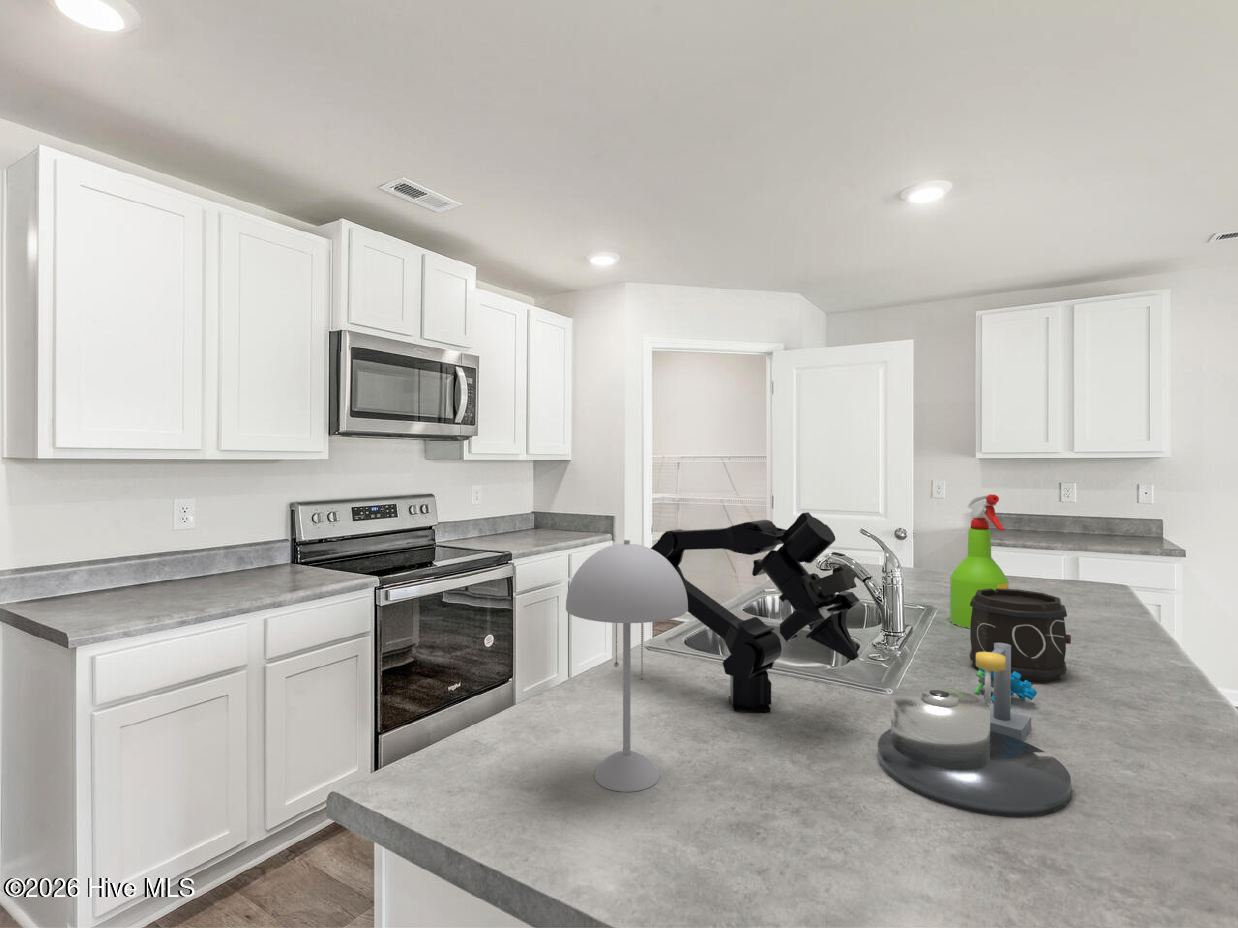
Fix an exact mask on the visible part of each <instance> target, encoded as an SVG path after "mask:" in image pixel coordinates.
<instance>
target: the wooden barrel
mask: <svg viewBox="0 0 1238 928" xmlns="http://www.w3.org/2000/svg"><path fill="white" fill-rule="evenodd" d="M970 606H971V607H972V615H971V624H970V629H969V631H970V635H969V637H970V646H971V647H970V648H971V649H970V652H969V659H970V661H972V662H973V666H974V668H975V669H977V670H979V668H978V667H977V666H976V653H977V652H992V651H994V643H1006V644H1009V645H1011V674H1012V673H1013V672H1014V671H1015V672H1017V673H1019V674H1021V677H1020V679H1019V680H1020V681H1022V682H1024V681H1025V680H1027V681H1029V682H1031V684H1043V685H1044V684H1048V683H1053V682H1059V680H1060V681H1061V678H1062V675H1065V674H1066V673H1067V665H1066V661H1065V659H1066V652H1067V651H1066V649H1067V644H1068V645H1071V644H1072V634H1067V632H1066V631H1067V630H1066V624H1065V623H1066V622H1065V618H1066V617H1067V616H1068V613H1067V609H1066V606H1065V605H1064V604H1062V601H1061V598H1060V597H1058V596H1054V595H1050V594H1049V593H1044V592H1039V591H1032V590H1031V591H1030V590H1025V589H1017V588H1008V589H996V590H995V591H994V590H993V589H982V590H977V592H976V595H975V596H973V598H972V600H971V603H970Z"/></svg>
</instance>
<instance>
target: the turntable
mask: <svg viewBox="0 0 1238 928" xmlns="http://www.w3.org/2000/svg"><path fill="white" fill-rule="evenodd" d="M877 743H878V746H877V747H878V749H877V751H878V752H877V753H878V754H877V757H878V762H879V764H880V766H881V768H882V769H883V771H884V772H885V773H886V774H887V775H888V777H891V778H892V779H893V780H894V781H895V782H897V783H898V784H900V785H901V786H903V787H905V788H906V789H908V790H910V791H912V792H914V793H915V794H918V795H920V796H922V797H924V796H925V797H924V798H927V797H928V798H927V799H929V798H930V799H929V800H932V799H933V800H932V801H934V800H935V802H937V801H938V802H937V803H940V802H941V803H940V804H943V803H944V804H943V805H946V804H947V806H949V805H950V807H953V808H956V807H957V809H960V808H961V810H964V809H965V811H969V810H970V811H969V812H972V813H973V812H974V813H978V814H985V815H991V816H1002V817H1017V818H1018V817H1021V818H1022V817H1023V818H1024V817H1037V816H1044V815H1048V814H1052V813H1055V812H1058V811H1060V810H1062V809H1063V808H1065V807H1066V806H1067V805H1068V804H1069V802H1070V800H1071V787H1072V786H1071V783H1072V782H1071V779H1072V778H1071V775H1070V773H1069V771H1068V769H1067V768H1066V767H1065V765H1063V764H1062V763H1061V762H1060V761H1059V760H1058V759H1056V758H1055V757H1054V756H1053V755H1052V754H1050V753H1049V752H1046V751H1044V750H1043V749H1041V748H1039V747H1038V746H1034V745H1033V744H1030V743H1028V742H1026V741H1024V740H1023V741H1021V740H1018V739H1016V738H1013V737H1010V736H1007V735H1004V734H1000V733H997V732H993V731H990V760H989V762H988V763H987V764H986V765H984V766H982V767H979V768H974V769H948V768H941V767H936V766H932V765H928V764H924V763H921V762H918V761H915V760H913V759H911V758H908V757H906V756H905V755H903V754H901V753H900V752H898V751H897V750H896V749H895V748H894V747H893V746H892V743H891V728H889V729H888V730H886V731H884V732H883V733H882V734H881V735H880V737H879V739H878V741H877Z"/></svg>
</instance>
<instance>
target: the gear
mask: <svg viewBox="0 0 1238 928" xmlns="http://www.w3.org/2000/svg"><path fill="white" fill-rule="evenodd" d="M975 675H976V677H978V682H979V684H978V685H977V687H976V688H975V690H974V694H977V695H979V694H980V692H981V690H982V689H983V688H984V687H985V670H984V669H981V668H979V669H978V671H977V673H976V674H975ZM1020 677H1021V674H1019V673H1017V672H1015V671H1014V672H1013V673H1012V674H1011V696H1013V695H1014V694H1015V695H1017V697H1018V698H1019V699H1021V700H1026V698H1027V699H1028V700H1030V701H1033V700H1034V698H1035V697H1036V696H1037V694H1038V692H1037V690H1036V689H1035V688H1033V683H1030V682H1029V681H1027V680H1025V681H1024V682H1022V681H1020V680H1019V679H1020ZM991 688H992V689H994V671H991ZM991 703H994V694H992V695H991Z"/></svg>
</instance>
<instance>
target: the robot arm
mask: <svg viewBox="0 0 1238 928" xmlns="http://www.w3.org/2000/svg"><path fill="white" fill-rule="evenodd" d="M835 541H836V536H835V533H834V532H833V530H832V529H831V527H830V526H828V524H825V523H824V522H823V521H821V520H819V519H818V518H817V517H815V516H813V515H811V513H810V512H809V511H807V512H802V513H800V515H799V516H797V518H796V520H795V521H794V522H793V523H792V524H791V525H790V526H789V527H788V528H786V529H785V528H781V527H777V526H776V524H774V522H773V521H772V520H768V519H761V520H753V521H747V522H741V523H738V524H735V525H731V526H730V525H729V526H728V527H725V528H723V527H722V528H706V529H686V530H685V529H671V530H667V531H665V532H664V533H662V535H661V536H660V537H659V539H658V540H657V542H655V544H653V545H652V547H650V548H651V549H653V550H654V551H656V552H658V553H660V554H661V555H662V556H664V557H665V558H666V559H667V560H668V561H669V562H670V563H671V564H672V566H673V567H674V568H675V569H676V571H677V572H678V574H679V575H680V577H681V579H682V581H683V584H684V586H685V589H686V593H687V599H688V611H687V612H686V613H688V614H690V615H692V617H694V618H695V619H696V620H698V621H700V623H702V624H703V625H704V626H705V627H707V628H708V629H710V630H711V631H712V632H714V634H716V635H718V636H719V637H720V638H721V639H723V641H724V643H725V645H726V647H727V649H728V652H729V653H730V655H729V656H728V657H726V658H725V659H724V660H723V662H722V666H723V671H724V673H725V675H728V676H729V678H730V687H729V691H730V692H729V695H728V701H729V703H730V706H731V708H732V711H733V712H737V713H738V712H748V713H751V712H752V713H754V712H755V713H756V712H760V713H761V712H763V713H764V712H765V713H768V712H769V713H770V712H771V711H772V710H771V707H770V706H771V705H772V681H771V680H770V677H769V672H768V671H767V670H772V669H773V667H774V664H775V661H777V660H778V659H779V658H780V656H781V655H782V649H783V647H782V643H781V638H780V636H778V634H777V633H776V632H774V630H775V627H771V626H769V625H767V624H766V623H765V622H764V621H762V620H761V619H760V617H758V616H753V617H750V618H747V619H745V620H744V619H741V618H739V617H738V616H737V615H735V614H734V613H732V612H731V611H729V610H728V609H727V608H726V607H724V606H723V605H721V604H720V603H719V602H718V601H716V600H715V599H713V598H712V597H711V596H709V594H706V593H705V592H703V591H702V590H701V589H700V588H699V587H697V586H696V585H694V584H692V582H690V581H689V580H688V579H686V578H685V576H684V574H683V571H682V569H681V567H680V566H679V565H681V563H682V562H683V557H684V552H685V550H686V551H687V550H688V551H690V550H720V549H721V550H728V551H730V552H733V553H736V554H737V553H738V554H742V555H749V556H753V555H756V554H762V553H766V552H768V553H766V554H765V556H763V557H762V558H760V559H754V560H753V568H752V571H751V572H752V573H751V574H752V576H753V577H758V576H760V575H761V576H762V575H764V574H765V575H766V576H767V577H768V578H769V580H771V582H772V583H773V584H774V585H775V586H776V588H777V590H778V591H779V592H780V593H781V595H780V596H779V597H778V599H779V600H780V601H781V602H782V603H785V602H788V603H789V605H790V606H791V607H792V609H793V610H794V611H792V612H791V614H789V615H787V617H786V618H785V619H784V620H783V621H781V623H779V634H780V635H781V636H782V638H783V639H784V640H785V642H786V643H789V642H791V641H794V640H795V639H796V638H798V634H799V633H800V632H801V631H802V630H803V629H804V628H805V627H807V626H808V630H809V633H808V634H806V635H805V637H806V638H805V639H809V640H812V641H814V642H816V643H819V644H820V645H822V646H825V647H827V648H829V649H830V650H833V651H834V652H836V653H837V654H840V655H841V656H843V657H845V658H847V659H848V660H850V661H855V660H856V659H858V658H859V653H858V650H857V649H856V648H857V647H856V646H855V644H854V642H853V639H852V637H851V634H850V632H849V630H848V626H847V623H846V620H847V614H848V613H849V611H851V610H852V609H853V608H854V607H855V606H856V605H858V603H860V602H861V600H860V599H859V597H858V596H857V595H856V594H855V593H854V592H853V591H850V590H852V589H854V588H855V589H856V588H857V587H858V586H857V583H856V581H855V579H856V577H857V574H856V573H855V572H853V570H852V568H851V567H848V566H846V564H842V565H839V566H836V567H833V568H832V574H829V575H826V576H823V577H821V576H819V574H817V573H815V572H813V573H809V572H808V571H807V569H806V568H805V567H804V566H803V565H802V564H803V563H806V564H812V563H813V562H814V561H815V560H817V558H818V557H820V556H821V555H822V554H823V553H824V552H825V551H826V550H827V549H828V548H829V547H830V546H832V544H833V543H834V542H835ZM779 545H781V546H780V547H779V548H778V549H777V550H775V549H776V547H778V546H779ZM836 593H837V594H836Z"/></svg>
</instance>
